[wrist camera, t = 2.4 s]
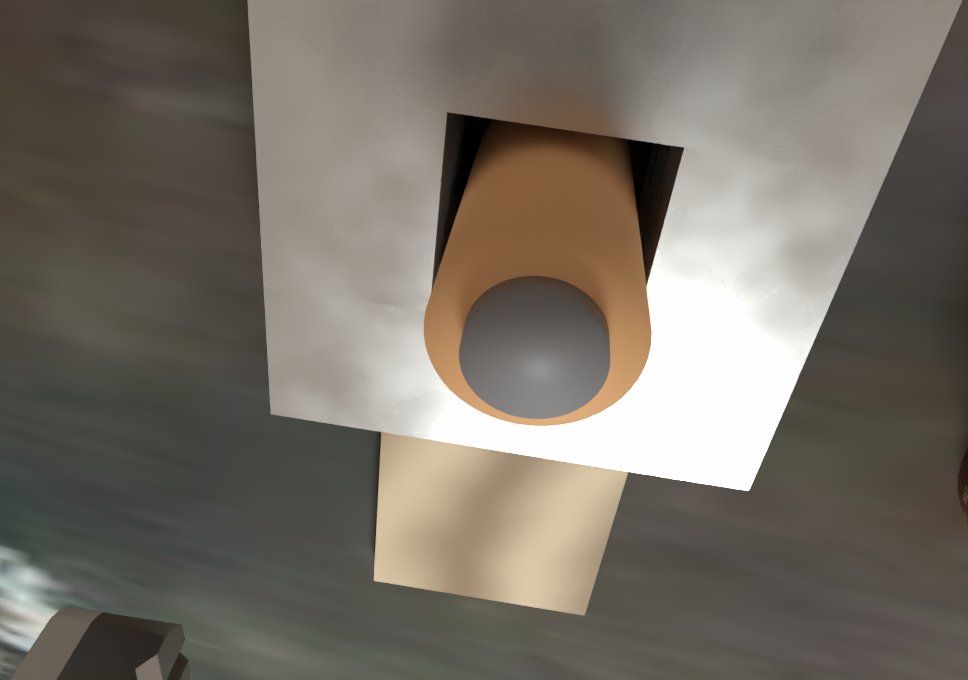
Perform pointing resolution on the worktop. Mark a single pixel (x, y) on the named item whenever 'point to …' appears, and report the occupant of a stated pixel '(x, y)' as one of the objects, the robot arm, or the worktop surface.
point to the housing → (661, 211)
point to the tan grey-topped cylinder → (542, 279)
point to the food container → (963, 486)
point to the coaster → (492, 522)
